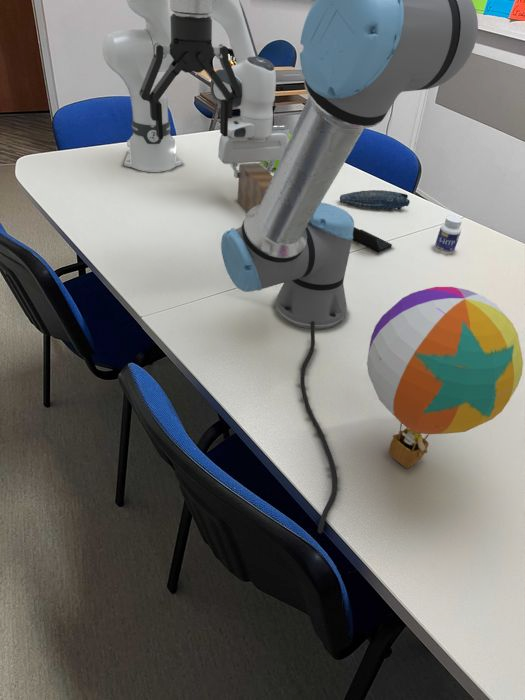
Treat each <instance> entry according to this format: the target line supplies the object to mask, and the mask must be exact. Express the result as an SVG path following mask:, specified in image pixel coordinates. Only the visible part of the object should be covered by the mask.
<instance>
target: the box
mask: <svg viewBox="0 0 525 700" xmlns="http://www.w3.org/2000/svg"><path fill="white" fill-rule="evenodd" d="M264 168H265V167H264V166H262V165H261V164H260V163H259V162H254V163H239V164H238V170H239V171H240V172H241V175H240V176H241V177H240V178H238V185H237V203H239V204H240V206H241V207H242V208H243V209H244V210H245V211H246V212H247V213H248V212H249V210H250V209H252V208H253V207H255V206H257V205H260V204H261V202H262V200H263V198H264V195H265V193H266V191H267V189H268V186H269V184H270V182H271V180H272V178H273V174H272V173H271V174H270V173H269V172H268V171H267V170H265V169H264Z"/></svg>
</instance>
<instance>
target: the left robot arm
mask: <svg viewBox="0 0 525 700" xmlns="http://www.w3.org/2000/svg"><path fill="white" fill-rule="evenodd" d="M126 3H127V5H128V8H130V10H131V11H132V12H133V13H134V14H136V15H137V16H139V17H140V18H143V19H144V21H145V28H144V29H119V30H114V31H112V32H109V33H107V34H106V35H105V37H104V39H103V42H102V56H103V59H104V62H105V63H106V65H107V66H108V67H109V68H110V69H111V70H112V71H113V72H115V73H116V74H117V75H118V76H119V78H121V79H122V81H123V82H124V84H125V87H126V88H127V90H128V93H129V98H130V104H131V111H132V113H131V114H132V120H131V131H132V135H131V136H130V138H129V139H127V140H126V145H127V148H128V152H127V154H126V157H125V160H124V162H123V163H124V164H123V166H125V167H129V168H133V169H135V170H138V171H141V172H147V173H148V172H149V173H160V172H167V171H171V170H172V169H174V168H176V167H179V166H182V164H183V163H182V160H181V159H180V158H179V157H178V156H177V145H176V138H174V137H173V136H172V135H171V122H170V120H169V106H168V105H169V101H168V95H167V94H166V93H167V92H166V91H165V92H164V93H163V95H162V96H161V98H160V99H159V100H158V101H159V102H160V103H161V104H162V126H163V139H159V138H158V136H157V135H156V121H153V120H152V119H151V116H150V103H149V101H146V100H143V99H142V98H141V96H140V95H139V92H140V90H141V87H142V84H143V82H144V79H145V77H146V74H147V72H148V69H149V67H150V64H151V61H152V59H153V56H154V45H155V43H159V44H160V45H164V46H170V43H171V22H170V16H171V15H170V11H169V4H168V3H169V1H168V0H126ZM209 17H211V19H212V20H214V21H216V22H217V23H218V24H219V25H221V27H222V28H223V29H224V30H225V33H226V35H227V37H228V40H229V43H230V47H231V49H232V52H233V56H234V58H235V63H236V64H234V65H231V67H232V69H233V72H234V75H235V77H236V80H237V82H238V85H239V87H240V90H241V93H242V98H240V99H236V100H235V102H234V103H233V108H238V109H239V111H240V112H239V116H237V117H235V118H233V119H232V118H231V119H230V120H228V135H227V136H223V135H222V134H221V135H220V138H219V142H218V151H217V157H218V159H219V160H220V162H221V163H223V164H224V165H228V164H229V165H230V167H231V168H232V171H233V178H235V179H239V178H240V177H241V176H240V175H241V172H240V171H239V169H237V167H239V164H247V163H259V162H267V161H268V162H270V163H269V164H268V163H267V166H266V167H263V168H264V169H265V170H267V171H268V172H269V173H270V174H271V175H272V170H273V169H274V168H273V167H274V165H275V163H276V160H281V157H282V155H283V153H284V151H285V148H286V146H287V144H288V139H289V134H291V132H290V128H289V127H288V126H286V125H285V124H280V125H273V122H274V111H273V108H274V107H273V106H274V103H275V99H276V88H277V75H276V68H275V65H274V64H273V62H271V61H270V60H269V59H266V58H263V57H261V56H259V55H258V52H257V48H256V45H255V42H254V38H253V36H252V32H251V28H250V25H249V22H248V18H247V16H246V13H245V9H244V6H243V5H242V2H241V1H240V0H212V13H211V14H209ZM173 60H174V59H173V58H172V56H171V55H170V53H168V54H167V55H166V58H164V59H163V60H162V64H161V67H160V69H159V72H158V73H162V72H164V73H165V72H166V71H167V70H168V68H169V66H170V64H171V63H172V61H173ZM214 71H215V72H216V74H217V75H218V76H219V78H220V79H221V81H222V82H223V83H224V85H225V86H226V88H227V89H228V90H229V92H232V90H231V87H230V85H229V83H228V80H227V78H226V75H225V73H224V70H223V68H222V67H221V68H219V69H217V70H214ZM156 85H157V84H155V83H154V84H153V87H152V89H151V92H152V91H153V89H154V88H155V86H156ZM209 85H210V86H209V87H210V92H211V96H212V99H213V100H214V101H215V103H216V104H217V105H219V106H220V107H221V100H225V97H224V96H223V95H222V93H221V92H220V91H219V89H218V88H217V86H216V85H215V84H214V82H213V81H212V80H211V79H210V84H209ZM151 92H150V93H151Z"/></svg>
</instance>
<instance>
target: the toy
mask: <svg viewBox="0 0 525 700" xmlns="http://www.w3.org/2000/svg"><path fill="white" fill-rule="evenodd" d="M514 325H515V324H514V323H513V322H512V321H511V319H510V318H509V317H508V316H507V314H506V313H504V311H503V310H502V309H501V308H500V307H499V305H498V304H496V303H495V302H493V301H492V300H490V299H489V298H487V297H486V296H483V295H481V294H479V293H477V292H474V291H472V290H469V289H465V288H461V287H460V288H459V287H455V286H433V287H429V288H425V289H421V290H418V291H414V292H412V293H409V294H407V295H406V296H404V297H401V299H400V300H398V301H397V302H396V303H395V304H394V305H393V306H392V307H391V308H389V309H388V310H387V311H386V312H385V313H384V314H382V316H381V317H380V318H379V320H378V321H377V323H376V324H375V326H374V329H373V331H372V334H371V335H370V343H369V346H368V353H367V361H366V367H367V373H368V377H369V379H370V381H371V384H372V386H373V389H374V391H375V393H376V396H377V398H378V401H380V403H381V404H382V405H383V406H384V407H385V408H386V410H388V412H389V413H391V415H392V416H393V417H394V418H395V419H397V421H398V422H399V423H400V427H399V431H398V434H397V433H396V434H395V433H394V434H393V435H392V439H391V441H390V444H389V450H388V454H389V456H390V457H391V458H393V459H394V460H395V461H396V462H398V464H400V465H401V466H403V467H404V468H406V469H410V468H411V467H412V466H413V465H415V464H416V463H417V462H419V461H420V460H421V459H422V458H423V456H425V454H427V453H428V448H429V442H428V441H427V438H428V437H429V435H444V434H445V435H447V434H457V433H459V434H460V433H465V432H467V431H468V432H469V431H470V430H472V429H475V428H477V427H479V426H480V425H483V424H485V423H488V422H489V421H492V420H493V419H495V418H496V417H497V416H498V415H499V414H501V413H502V412H503V410H504V409H505V407H506V406H507V405H508V403H509V402H510V401H511V398H512V397H513V395H514V393H515V391H516V390H517V388H518V386H519V383H520V382H521V378H522V375H523V367H524V360H523V354H522V348H521V344H520V343H521V342H520V339H519V333H518V331H517V329H516V328H515V326H514ZM402 425H403V426H404V427H405V429H403V430H402V427H403V426H402ZM422 434H423V435H426V436H425V438H423V436H422Z"/></svg>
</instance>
